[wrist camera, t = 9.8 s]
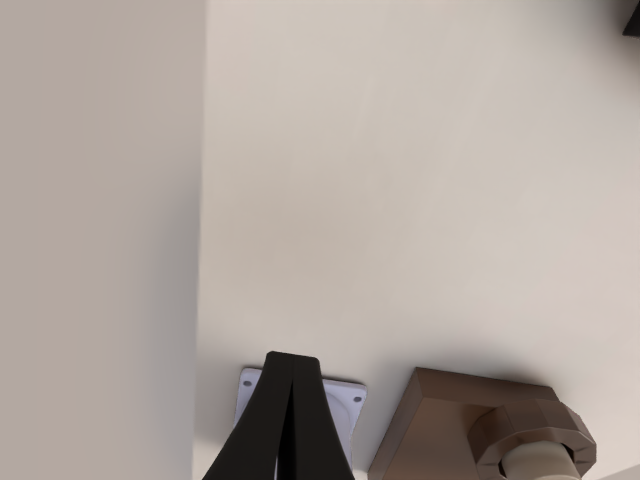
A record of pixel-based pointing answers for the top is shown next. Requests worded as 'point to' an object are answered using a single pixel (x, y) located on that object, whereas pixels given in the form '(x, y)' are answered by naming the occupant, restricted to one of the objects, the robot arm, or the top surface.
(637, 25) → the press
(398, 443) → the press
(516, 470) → the button
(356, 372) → the top surface
